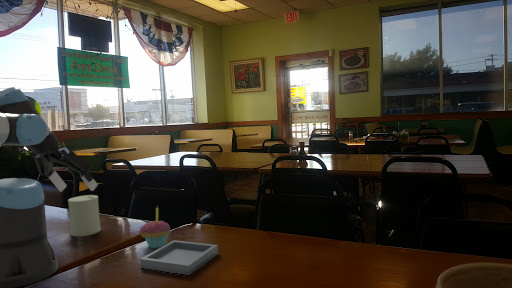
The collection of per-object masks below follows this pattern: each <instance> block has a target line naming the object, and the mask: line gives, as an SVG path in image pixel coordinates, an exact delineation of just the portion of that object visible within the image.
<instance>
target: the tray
mask: <svg viewBox="0 0 512 288" xmlns="http://www.w3.org/2000/svg"><path fill="white" fill-rule="evenodd" d="M217 255H219V247H218V244H211V243H201V242H195V241H194V242H193V241H192V242H191V241H184V240H176V239H175V240H171V241H170V242H168V243H165V245H164V246H162V247H159V248H156V249H155V250H154V251H152V252H150V253H148V254H146V255H145V256H143V257H141V258H140V259H139V260H140V269H141V268H146V269H153V270H159V271H165V272H164V273H166V272H170V273H169V274H172V273H178V274H177V275H179V274H185V275H190V274H191V275H192V274H194V273H195V272H196V271H198V270H199V269H200V268H202V267H203V266H205V265H206V264H207V263H208V262H210V261H212V260H213V259H214V258H215V257H216V256H217ZM146 269H145V270H146ZM197 269H198V270H197ZM153 270H152V271H153ZM159 271H158V272H159ZM194 271H195V272H194ZM193 272H194V273H193ZM185 275H184V276H185ZM191 275H190V276H191Z"/></svg>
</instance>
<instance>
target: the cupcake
mask: <svg viewBox="0 0 512 288" xmlns="http://www.w3.org/2000/svg"><path fill="white" fill-rule="evenodd" d="M158 206H159V205H157V206H156V208H155V220H154V221H153V220H152V221H149V222H147V223H145V224H144V225H142V226H141V228H140V230H139V233H140V235H141V237H142V238H144V239H145V241H146V244H147V246H148V247H149V249H150V248H151V249H159V248H161V247H163V246H164V245H166V244H167V239H168V236H169V234H170V233H171V228H170V224H169V223H167V222H165V221H164V220H159V207H158Z"/></svg>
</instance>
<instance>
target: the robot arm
mask: <svg viewBox="0 0 512 288" xmlns="http://www.w3.org/2000/svg"><path fill="white" fill-rule="evenodd" d="M58 142H59V139H58V137H57V136H56V135H55V133H54V132H53V131H52V130H51V129H50V127H49V126H48V125H47V123H46V121H45V120H44V119H43V118H42V116H41V115H40V113H39V112H38V111H37V109H36V108H35V106H34V105H33V103H32V102H31V101H30V99H29V98H28V97H27V95H25V93H24V92H23V91H22V89H20V87H16V86H12V87H7V88H5V89H3V90H1V91H0V146H27V147H28V148H29V149H30V150H31V153H30V155H31V156H32V158H33V159H34V162H35V164H36V165H35V166H36V168H37V172H38V174H39V175H40V176H45V177H47V178H48V179H49V180H50V181H51V183H52V184H53V185H54V186H55V187H56V189H58V191H59V192H63V191H64V190H65V189H66V187H67V184H66V183H65V182H64V180H63V179H62V178H61V177H60V175H59V174H58V172H56V170H55V169H54V163H57V164H58V163H59V164H60V165H65V166H66V167H68V168H70V169H71V170H73V171H74V172H76V173H78V174H79V177H80V178H81V179H82V181H83V182H84V184H85V185H86V186H87V188H88V189H89V190H90V191H91V192H93V191H94V190H95V189H96V188H97V187H98V186H99V184H98V183H97V182H96V180H95V179H94V177H93V175H92V174H91V173H90V170H91V169H92V168H93V167H92V166H91V165H90V164H89V163H87V162H86V161H85V160H84V159H83V158H81V157H80V156H79V155H78V154H76V153H75V152H74V151H73V150H72V149H71V147H69V146H68V145H65V146H64V147H60V146H59V145H58V144H59V143H58ZM45 205H46V204H45V193H44V190H43V185H42V184H41V182H40V181H38V180H35V179H32V178H27V177H26V178H25V177H20V178H17V177H12V178H11V177H10V178H2V179H1V178H0V288H19V287H25V286H28V285H31V284H34V283H37V282H40V281H42V280H45V279H46V278H48V277H51V276H52V275H53V274H56V272H57V271H58V269H59V265H58V264H59V262H58V258H57V255H56V253H55V252H54V249H53V248H52V246H51V244H50V242H49V238H48V231H47V229H48V228H47V220H46V206H45Z"/></svg>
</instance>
